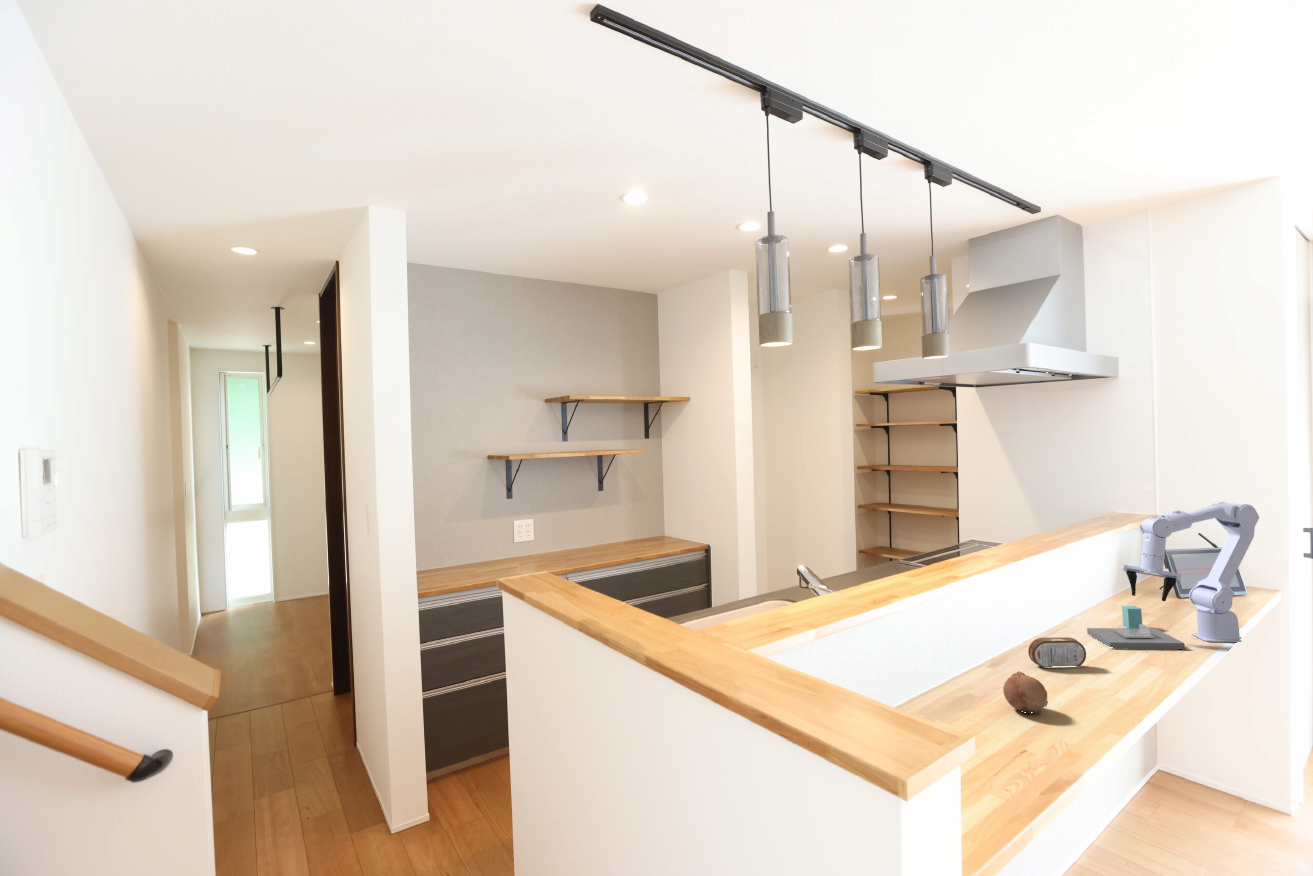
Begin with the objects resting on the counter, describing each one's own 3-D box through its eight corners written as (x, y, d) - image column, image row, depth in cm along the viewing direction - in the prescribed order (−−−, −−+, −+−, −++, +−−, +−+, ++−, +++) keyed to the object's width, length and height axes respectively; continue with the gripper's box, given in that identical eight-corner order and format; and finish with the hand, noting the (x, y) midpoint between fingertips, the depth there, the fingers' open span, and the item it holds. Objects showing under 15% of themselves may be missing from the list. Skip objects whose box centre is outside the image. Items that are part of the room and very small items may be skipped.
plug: (1136, 626, 217) (1135, 606, 217) (1142, 629, 213) (1141, 608, 213) (1123, 626, 218) (1121, 606, 218) (1129, 629, 214) (1127, 608, 214)
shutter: (1140, 630, 205) (1140, 623, 205) (1154, 638, 197) (1153, 630, 197) (1113, 630, 206) (1112, 623, 206) (1125, 637, 199) (1124, 629, 199)
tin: (1082, 665, 184) (1080, 636, 184) (1089, 668, 181) (1087, 639, 181) (1028, 666, 185) (1026, 637, 186) (1033, 669, 182) (1031, 640, 182)
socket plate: (1155, 634, 207) (1155, 628, 207) (1184, 649, 191) (1184, 643, 192) (1087, 634, 211) (1087, 628, 212) (1110, 648, 196) (1110, 642, 196)
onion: (1016, 717, 159) (1005, 675, 163) (1057, 714, 153) (1045, 671, 158) (1003, 715, 153) (993, 671, 157) (1046, 712, 147) (1033, 667, 152)
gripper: (1126, 552, 202) (1121, 594, 201) (1184, 561, 194) (1179, 605, 194) (1123, 550, 208) (1119, 591, 207) (1180, 559, 200) (1175, 602, 200)
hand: (1148, 598), depth 201 cm, fingers open, 7 cm apart
